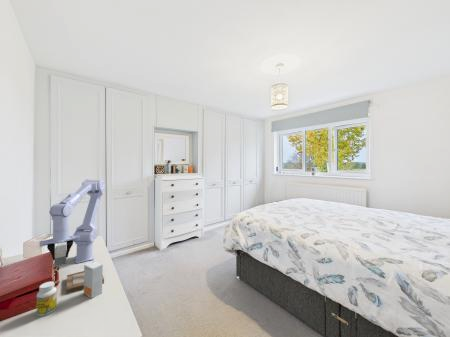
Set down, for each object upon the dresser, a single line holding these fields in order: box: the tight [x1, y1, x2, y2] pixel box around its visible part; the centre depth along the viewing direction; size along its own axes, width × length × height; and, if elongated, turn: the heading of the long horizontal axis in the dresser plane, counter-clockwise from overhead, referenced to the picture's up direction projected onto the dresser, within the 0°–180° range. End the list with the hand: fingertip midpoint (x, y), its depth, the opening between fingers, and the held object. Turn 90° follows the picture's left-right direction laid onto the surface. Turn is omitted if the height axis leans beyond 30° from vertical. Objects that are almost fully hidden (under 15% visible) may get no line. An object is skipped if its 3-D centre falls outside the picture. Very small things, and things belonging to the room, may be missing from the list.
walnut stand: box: [66, 270, 105, 295], centre depth 90 cm, size 13×13×2 cm
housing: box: [54, 244, 67, 267], centre depth 94 cm, size 6×4×7 cm, turn 38°
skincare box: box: [83, 260, 104, 299], centre depth 82 cm, size 6×4×12 cm
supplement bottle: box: [36, 281, 58, 317], centre depth 71 cm, size 5×5×10 cm
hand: (60, 258), depth 94 cm, fingers closed on housing, 4 cm apart
